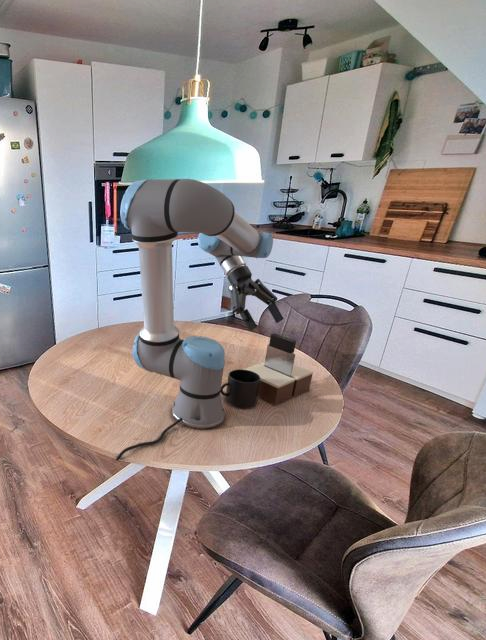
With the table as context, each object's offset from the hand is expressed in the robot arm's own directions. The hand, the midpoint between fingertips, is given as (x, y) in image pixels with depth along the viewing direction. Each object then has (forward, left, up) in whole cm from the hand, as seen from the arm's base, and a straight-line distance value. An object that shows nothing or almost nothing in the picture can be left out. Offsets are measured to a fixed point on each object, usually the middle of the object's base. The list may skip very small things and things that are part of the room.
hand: (267, 324), depth 127 cm
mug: (-17, -6, -21) cm, 28 cm away
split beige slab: (0, -7, -21) cm, 22 cm away
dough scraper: (0, -7, -14) cm, 16 cm away
